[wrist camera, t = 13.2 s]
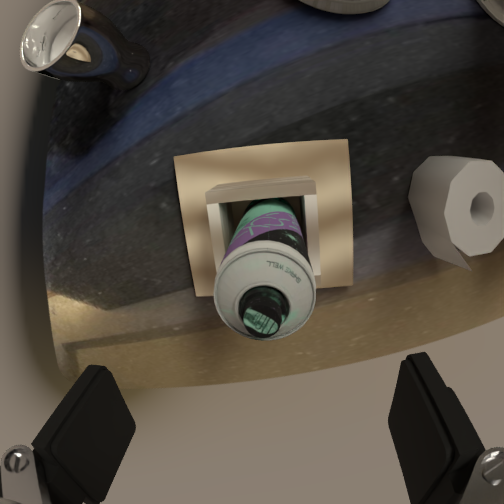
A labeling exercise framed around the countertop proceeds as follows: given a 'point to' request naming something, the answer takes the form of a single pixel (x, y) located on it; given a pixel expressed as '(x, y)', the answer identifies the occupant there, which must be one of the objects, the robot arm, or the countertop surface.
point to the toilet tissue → (458, 206)
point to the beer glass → (81, 47)
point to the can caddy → (269, 186)
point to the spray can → (266, 274)
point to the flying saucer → (346, 5)
